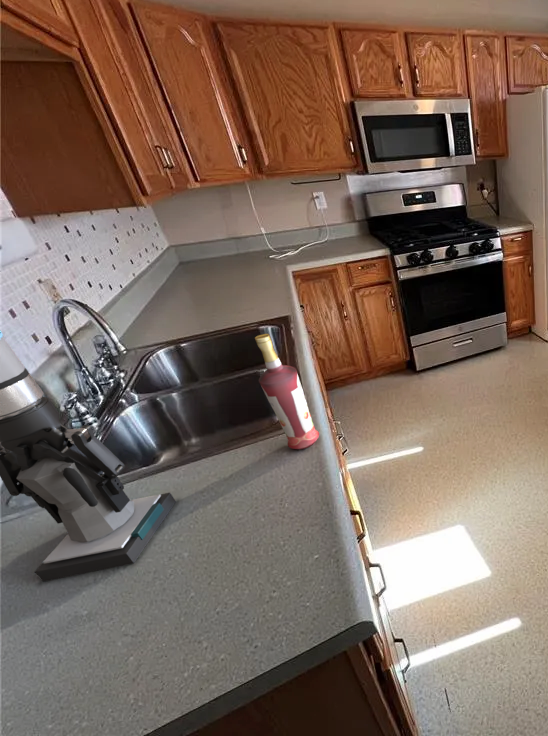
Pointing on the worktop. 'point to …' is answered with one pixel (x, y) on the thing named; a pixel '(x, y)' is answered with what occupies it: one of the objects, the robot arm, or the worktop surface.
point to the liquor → (286, 397)
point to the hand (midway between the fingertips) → (94, 511)
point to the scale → (109, 542)
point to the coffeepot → (74, 499)
